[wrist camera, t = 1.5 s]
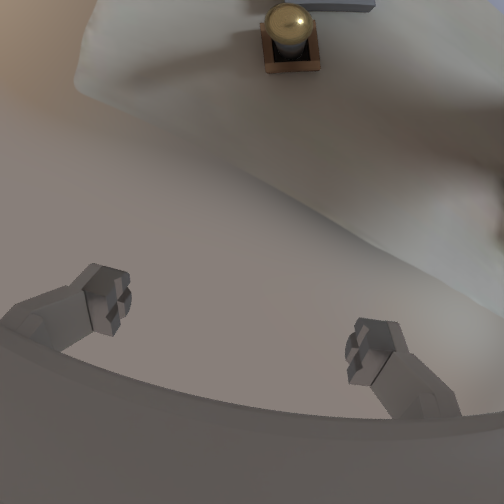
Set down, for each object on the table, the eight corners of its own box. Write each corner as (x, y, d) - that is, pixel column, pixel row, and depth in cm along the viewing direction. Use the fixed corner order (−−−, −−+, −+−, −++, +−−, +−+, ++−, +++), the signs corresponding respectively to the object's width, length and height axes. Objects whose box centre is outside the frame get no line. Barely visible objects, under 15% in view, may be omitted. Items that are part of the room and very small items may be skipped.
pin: (304, 34, 30) (311, -5, 16) (307, 61, 31) (317, 40, 17) (273, 36, 30) (259, -1, 16) (276, 63, 32) (265, 43, 18)
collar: (313, 25, 29) (315, 19, 26) (318, 70, 32) (320, 69, 29) (262, 28, 30) (259, 23, 27) (267, 73, 33) (265, 72, 30)
